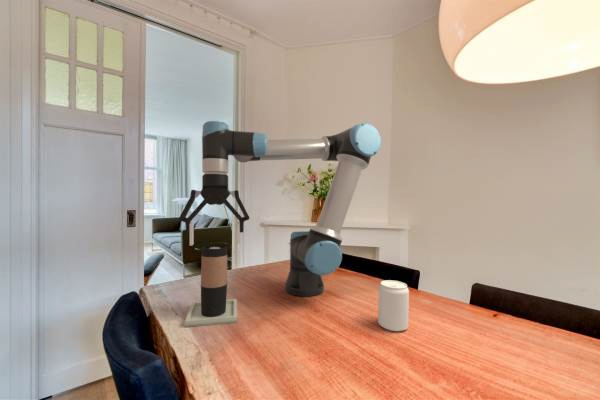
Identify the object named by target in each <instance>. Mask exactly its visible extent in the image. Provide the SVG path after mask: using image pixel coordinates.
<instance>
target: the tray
mask: <svg viewBox="0 0 600 400" xmlns="http://www.w3.org/2000/svg"><path fill="white" fill-rule="evenodd" d="M237 300H238V299H237V298H232V299H226V311H225V313H224V314H222V315H220V316H216V317H205V316H203V315H202V314H201V301H192V302H191V305H190V307H189V309H188V312H187V314H186V316H185V317H186V318H185V320H184V328H192V327H193V328H194V327H202V326H203V327H204V326H215V325H225V324H236V323H238V304H237V303H238V301H237Z"/></svg>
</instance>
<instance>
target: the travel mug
mask: <svg viewBox="0 0 600 400" xmlns="http://www.w3.org/2000/svg"><path fill="white" fill-rule="evenodd" d="M200 263H201V265H200V266H201V267H200V268H201V269H200V270H201V271H200V302H201V314H202V315H203V316H205V317H216V316H220V315H222V314H224V313H225V311H226V300H227V297H228V294H227V292H228V291H227V290H228V246H226V245H225V244H207V245H203V246H202V247H201V262H200Z"/></svg>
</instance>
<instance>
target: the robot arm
mask: <svg viewBox="0 0 600 400" xmlns="http://www.w3.org/2000/svg"><path fill="white" fill-rule="evenodd" d="M201 133H202V134H201V135H202V136H201V140H202V143H201V144H202V145H201V146H202V147H201V148H202V152H201V153H202V155H201V156H202V161H201V162H202V164H201V167H202V169H201V170H202V173H203V175H201V177H202V178H201V179H202V180H201V181H202V182H201V183H202V187H201V190H195V189H191V191H190V196H189V199H188V201H187V203H186V204H185V206H184V207H183V210H182V212H181V214H180V215H179V217H178V220H179V222H183V223H185V234H186V235H189V246H193V245H195V242H194V239H195V238H194V237H195V236H194V235H195V234H194V233H195V232H194V229H195V228H194V225H195V224H194V222H192V221H193V219H195V218H196V216H197V215H198V214H199V213H200V212H202V209H203V208H204V207H205V206H206V205H207V204H208V205H209V206H213V205H217V206H221V205H223V204H224V205H225V206H226V208H228V210H230V212H231V213H232V215H234V216H235V218H236V219H237V220H238V221H237V223H236V244H237V245H240V244H241V243H240V242H241V235H240V234H241V233H244V227H245V226H244V223H245V222H246V221H249V220H250V216H249V214H248V212H247V210H246V208H245V205H244V204H243V202H242V200H241V198H240V192H239V190H237V189H235V190H230V189H229V175H228V173H229V156H233V159H235V160H236V161H237V162H240V163H248V162H257V161H283V160H284V161H285V160H309V159H310V160H315V159H321V160H322V161H324V162H329V161H330V162H331V161H332V162H338V163H337V166H336V169H335V171H334V175H333V177H332V181H331V184H330V186H329V189H328V191H327V194H326V198H325V200H324V202H323V205H322V209H321V211H320V214H319V216H318V220H317V222H316V225H315V226H312V227H311V228H310V229H309V230H308V231H307V230H306V231H303V230H302V231H292V232H291V234H290V239H289V242H290V243H289V245H290V248H289V249H290V250H289V251H290V252H289V255H290V256H289V270H288V271H289V272H288V275H287V278H286V280H285V281H286V282H285V285H284V286H285V287H284V289H285V290H284V291H285V293H288V294H289V295H292V296H297V297H314V296H319V295H321V294H324V290H325V284H324V280H323V277H322V276H328V275H330V274H332V273H334V272H336V271H337V270H338V268H339V267H340V265H341V262H342V260H343V253H342V250H341V245H342V242H343V239H342V237H341V234H340V233H341V231H342V228H343V225H344V223H345V219H346V216H347V214H348V211H349V207H350V205H351V202H352V199H353V197H354V194H355V191H356V188H357V185H358V182H359V179H360V176H361V173H362V171H363V170H365V169H367V168H368V167H369V165H370V161H371V159H372V157H373V156H374V157H375V155H377V154H378V153H379V151H380V150H381V146H382V138H381V135H380V133H379V131H378V129H377V128H376V127H375V126H373V125H372V124H370V123H366V122H362V123H357V124H355V125H353V126H352V127H350V128H348V129H345V130H343V131H342V132H339V133H337V134H333V135H329V136H328V135H325V136H322V137H320V138H305V139H303V138H298V139H297V138H293V139H291V138H289V139H288V138H287V139H286V138H285V139H280V138H279V139H268V136H267V134H265V133H263V132H262V133H261V132H258V131H254V132H252V131H240V130H230V128H229V125H228V124H227V123H226V122H223V121H219V120H209V121H206V122H204V124H203V125H202V132H201ZM230 195H231V196H232V198H234V199H235V200H236V203H237V204H238V207H239V209H240V211H241V213H242V214H243V216H242V215H240V213H239V212H238V211H237V210H236V209H235V208H234V207H233V205H232V204H231V203H230V201H228V200H227V199H228V198H229V197H230ZM199 196H201V197H202V199H203V200H202V201H201V202H200V204H199V205H198V206H197V207H195V209H194V210H193V211H192V213H191V214H190V215H189V216H188V217H187V215H188V213H189V211H190V209H191V208H192V206H193V204H194V202H195V200H196V198H198V197H199Z"/></svg>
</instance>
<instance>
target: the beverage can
mask: <svg viewBox="0 0 600 400" xmlns="http://www.w3.org/2000/svg"><path fill="white" fill-rule="evenodd" d="M409 299H410V290H409V288H408V284H407V283H406V282H402V281H399V280H391V279H388V280H387V279H386V280H382V281H380V285H379V286H378V310H377V311H378V312H377V313H378V315H377V323H378V324H379V326H380V327H382V328H384V329H386V330H388V331H391V332H402V331H405V330H407V329H408V328H409V304H410V300H409Z"/></svg>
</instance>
